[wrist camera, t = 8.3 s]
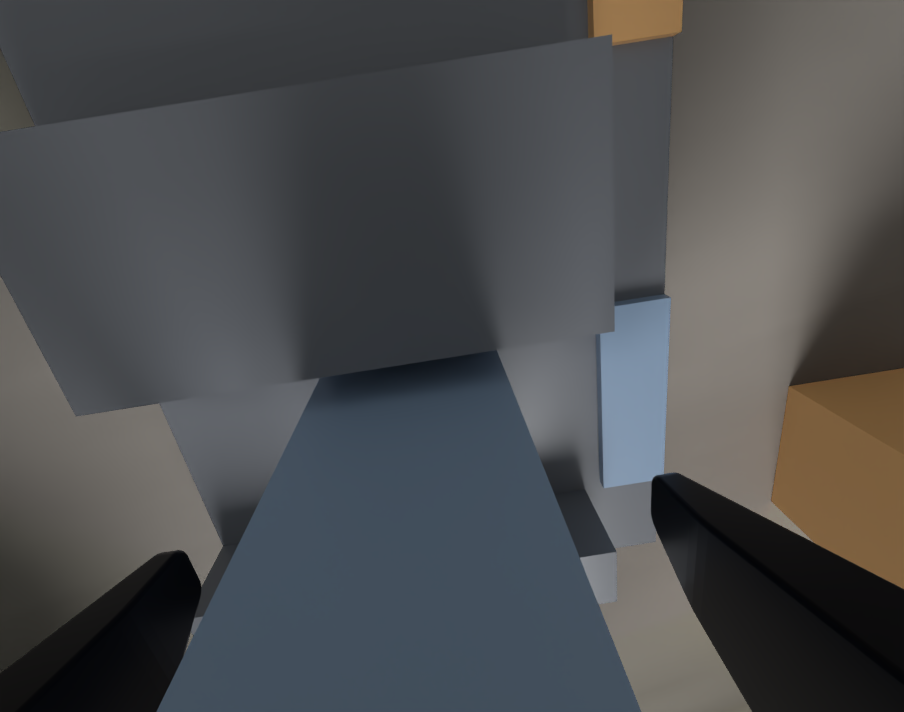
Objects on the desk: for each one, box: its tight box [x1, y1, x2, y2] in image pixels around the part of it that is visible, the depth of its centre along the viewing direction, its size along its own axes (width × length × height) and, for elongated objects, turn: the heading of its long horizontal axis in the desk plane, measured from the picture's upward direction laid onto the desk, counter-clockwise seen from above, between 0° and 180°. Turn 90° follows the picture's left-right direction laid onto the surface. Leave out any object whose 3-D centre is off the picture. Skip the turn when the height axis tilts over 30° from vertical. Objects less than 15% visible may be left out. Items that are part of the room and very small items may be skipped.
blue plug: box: [157, 350, 641, 712], centre depth 8 cm, size 4×4×8 cm
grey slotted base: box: [0, 0, 683, 636], centre depth 9 cm, size 20×12×3 cm, turn 8°
